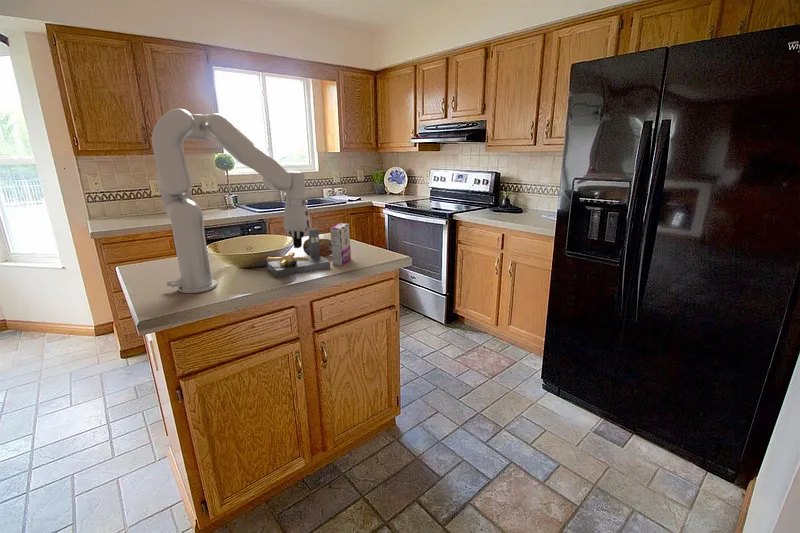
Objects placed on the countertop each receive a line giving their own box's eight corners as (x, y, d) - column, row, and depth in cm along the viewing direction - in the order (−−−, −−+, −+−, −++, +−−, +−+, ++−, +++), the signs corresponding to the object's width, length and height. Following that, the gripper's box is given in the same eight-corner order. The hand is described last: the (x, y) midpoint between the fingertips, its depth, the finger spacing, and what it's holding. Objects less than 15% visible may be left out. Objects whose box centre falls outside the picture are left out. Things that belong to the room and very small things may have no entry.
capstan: (304, 270, 144) (303, 260, 143) (260, 270, 144) (258, 260, 143) (313, 258, 160) (312, 249, 159) (273, 258, 160) (272, 249, 159)
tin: (303, 255, 177) (302, 238, 175) (306, 254, 180) (305, 237, 178) (333, 257, 174) (332, 239, 172) (336, 255, 177) (335, 238, 175)
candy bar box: (340, 258, 172) (339, 223, 167) (351, 259, 171) (349, 223, 166) (331, 265, 162) (329, 227, 157) (342, 266, 161) (340, 228, 156)
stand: (277, 277, 146) (273, 240, 142) (267, 269, 157) (263, 233, 153) (330, 268, 157) (328, 233, 153) (317, 260, 169) (315, 227, 164)
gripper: (317, 203, 152) (318, 247, 157) (284, 200, 156) (287, 244, 161) (307, 204, 145) (309, 251, 150) (274, 202, 149) (276, 247, 154)
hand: (297, 247), depth 155 cm, fingers closed
